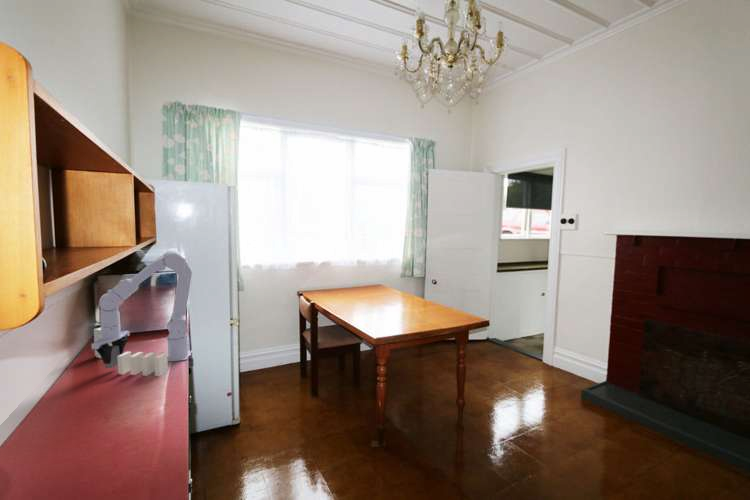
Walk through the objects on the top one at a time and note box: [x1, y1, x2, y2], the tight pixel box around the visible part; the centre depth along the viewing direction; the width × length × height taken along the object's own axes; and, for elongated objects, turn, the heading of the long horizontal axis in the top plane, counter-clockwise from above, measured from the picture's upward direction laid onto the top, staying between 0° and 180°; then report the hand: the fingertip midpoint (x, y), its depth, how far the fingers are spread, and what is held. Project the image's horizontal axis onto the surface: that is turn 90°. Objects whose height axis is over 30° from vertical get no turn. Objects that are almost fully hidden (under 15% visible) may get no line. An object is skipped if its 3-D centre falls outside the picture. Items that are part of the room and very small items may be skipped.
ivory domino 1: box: [117, 351, 133, 376], centre depth 127 cm, size 2×4×7 cm, turn 175°
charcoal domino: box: [105, 345, 120, 369], centre depth 127 cm, size 2×4×7 cm, turn 175°
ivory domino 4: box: [154, 352, 169, 377], centre depth 126 cm, size 2×4×7 cm, turn 175°
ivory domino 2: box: [129, 351, 144, 376], centre depth 126 cm, size 2×4×7 cm, turn 175°
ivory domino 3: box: [142, 352, 156, 377], centre depth 126 cm, size 2×4×7 cm, turn 175°
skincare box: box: [93, 326, 113, 359], centre depth 142 cm, size 6×4×12 cm
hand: (112, 360), depth 127 cm, fingers closed on charcoal domino, 4 cm apart
